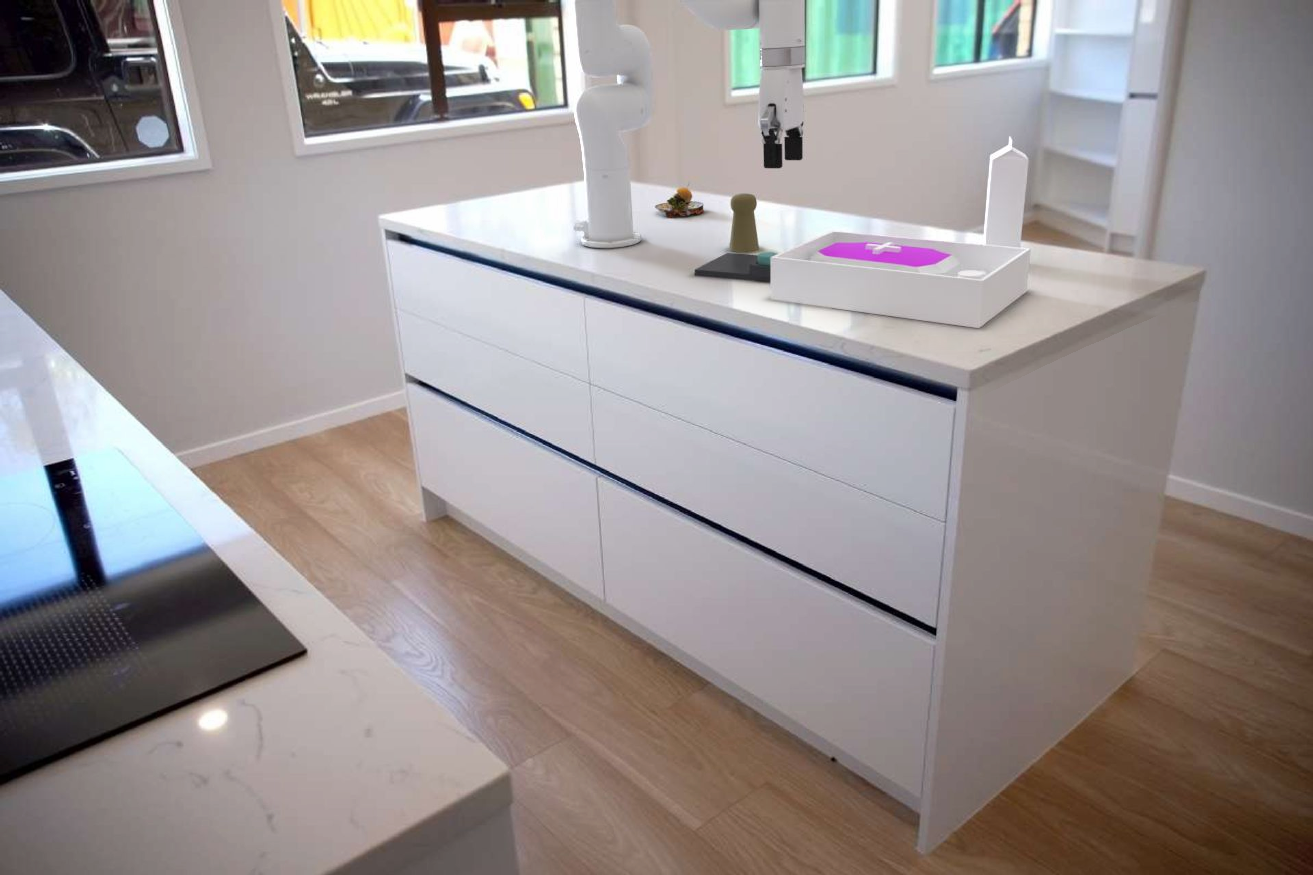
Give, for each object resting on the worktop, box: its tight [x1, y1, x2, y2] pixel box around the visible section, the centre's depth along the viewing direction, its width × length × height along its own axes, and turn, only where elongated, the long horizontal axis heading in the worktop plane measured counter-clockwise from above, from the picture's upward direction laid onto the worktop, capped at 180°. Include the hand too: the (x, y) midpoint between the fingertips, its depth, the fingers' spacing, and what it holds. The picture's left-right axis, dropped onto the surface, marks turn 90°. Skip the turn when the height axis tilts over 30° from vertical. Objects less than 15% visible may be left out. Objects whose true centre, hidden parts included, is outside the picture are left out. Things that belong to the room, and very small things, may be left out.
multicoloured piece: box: [654, 181, 705, 218], centre depth 237 cm, size 12×12×8 cm
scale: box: [693, 252, 771, 283], centre depth 183 cm, size 17×15×3 cm
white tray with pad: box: [770, 230, 1032, 329], centre depth 162 cm, size 22×35×7 cm, turn 54°
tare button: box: [757, 251, 778, 265], centre depth 177 cm, size 4×4×2 cm
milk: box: [982, 135, 1030, 248], centre depth 175 cm, size 6×6×22 cm
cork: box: [728, 193, 760, 254], centre depth 198 cm, size 6×6×11 cm
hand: (783, 164), depth 174 cm, fingers open, 9 cm apart
